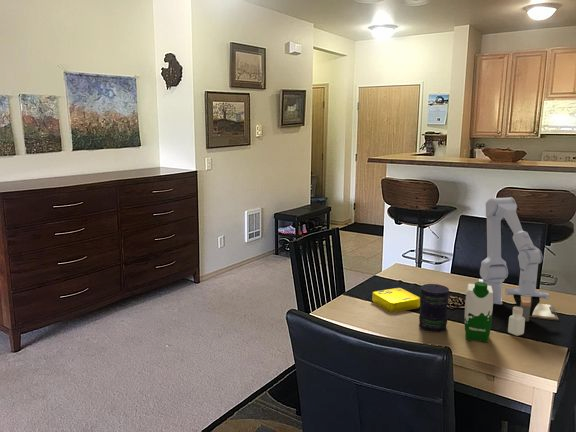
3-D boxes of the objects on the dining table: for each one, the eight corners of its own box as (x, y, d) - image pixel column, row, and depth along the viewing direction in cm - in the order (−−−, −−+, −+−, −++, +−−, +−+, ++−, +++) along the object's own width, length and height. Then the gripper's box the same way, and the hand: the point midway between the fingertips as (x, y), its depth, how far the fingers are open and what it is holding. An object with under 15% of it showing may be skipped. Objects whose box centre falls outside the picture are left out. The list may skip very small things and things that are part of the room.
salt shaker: (516, 336, 166) (519, 310, 164) (507, 332, 170) (509, 307, 168) (524, 334, 168) (526, 308, 166) (514, 330, 171) (516, 305, 170)
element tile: (391, 313, 187) (391, 302, 187) (370, 301, 201) (370, 290, 200) (421, 308, 193) (422, 297, 192) (399, 296, 207) (400, 286, 206)
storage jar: (442, 335, 167) (445, 294, 165) (415, 329, 173) (417, 289, 170) (449, 325, 176) (452, 286, 173) (423, 319, 181) (425, 282, 178)
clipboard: (523, 316, 184) (523, 312, 184) (519, 302, 198) (520, 299, 198) (558, 320, 180) (559, 317, 179) (552, 306, 194) (552, 302, 194)
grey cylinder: (520, 320, 180) (521, 302, 179) (519, 317, 183) (520, 300, 182) (529, 321, 179) (530, 303, 178) (528, 318, 182) (529, 301, 181)
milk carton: (463, 340, 163) (467, 284, 160) (462, 329, 172) (466, 276, 168) (491, 344, 160) (495, 287, 157) (489, 333, 169) (493, 279, 165)
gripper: (507, 281, 177) (504, 315, 180) (551, 285, 172) (547, 321, 174) (506, 275, 184) (503, 309, 186) (548, 280, 178) (544, 314, 181)
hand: (524, 314), depth 181 cm, fingers open, 3 cm apart
